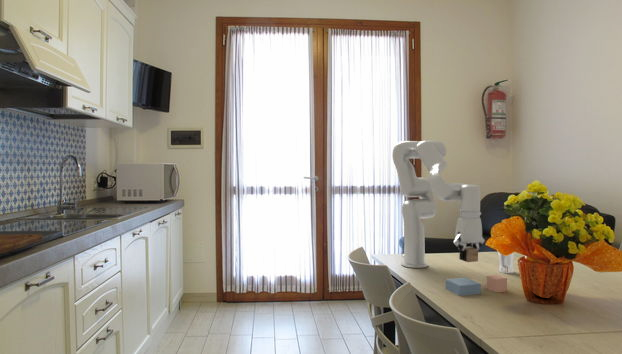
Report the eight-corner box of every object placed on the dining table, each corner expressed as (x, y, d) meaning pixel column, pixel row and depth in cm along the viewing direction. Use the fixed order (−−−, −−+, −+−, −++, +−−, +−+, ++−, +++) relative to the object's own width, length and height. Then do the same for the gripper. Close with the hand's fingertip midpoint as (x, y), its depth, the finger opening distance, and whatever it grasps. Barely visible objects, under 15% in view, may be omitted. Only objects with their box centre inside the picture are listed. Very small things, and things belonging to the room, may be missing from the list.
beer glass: (498, 273, 177) (497, 239, 176) (497, 269, 183) (497, 236, 183) (515, 274, 174) (515, 239, 174) (514, 270, 181) (514, 237, 180)
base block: (445, 289, 154) (445, 279, 154) (466, 287, 156) (466, 277, 156) (459, 296, 145) (459, 285, 145) (481, 294, 148) (481, 283, 148)
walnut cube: (459, 259, 165) (459, 247, 165) (469, 258, 167) (469, 246, 166) (467, 262, 160) (468, 249, 160) (477, 261, 162) (478, 249, 162)
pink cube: (486, 288, 154) (486, 276, 154) (496, 287, 155) (496, 274, 155) (496, 292, 149) (496, 279, 149) (507, 291, 151) (506, 278, 150)
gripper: (480, 213, 169) (479, 255, 170) (446, 214, 164) (445, 258, 164) (493, 215, 162) (492, 260, 163) (458, 217, 156) (457, 263, 157)
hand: (468, 258), depth 164 cm, fingers closed on walnut cube, 4 cm apart
